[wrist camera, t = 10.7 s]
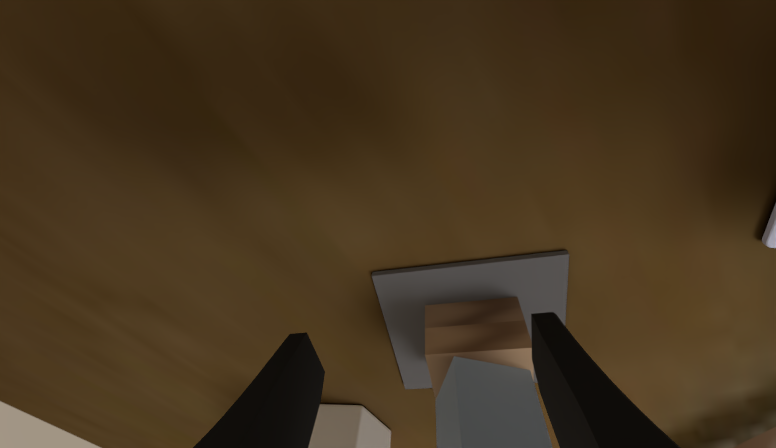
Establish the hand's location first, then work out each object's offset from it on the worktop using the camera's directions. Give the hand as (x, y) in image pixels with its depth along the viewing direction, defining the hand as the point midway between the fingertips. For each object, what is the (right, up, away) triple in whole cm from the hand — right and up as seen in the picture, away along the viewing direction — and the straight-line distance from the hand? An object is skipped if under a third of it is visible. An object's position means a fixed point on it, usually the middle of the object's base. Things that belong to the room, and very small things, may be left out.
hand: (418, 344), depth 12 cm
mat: (+5, -4, +14) cm, 15 cm away
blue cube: (+5, -6, +10) cm, 13 cm away
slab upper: (+5, -5, +12) cm, 14 cm away
